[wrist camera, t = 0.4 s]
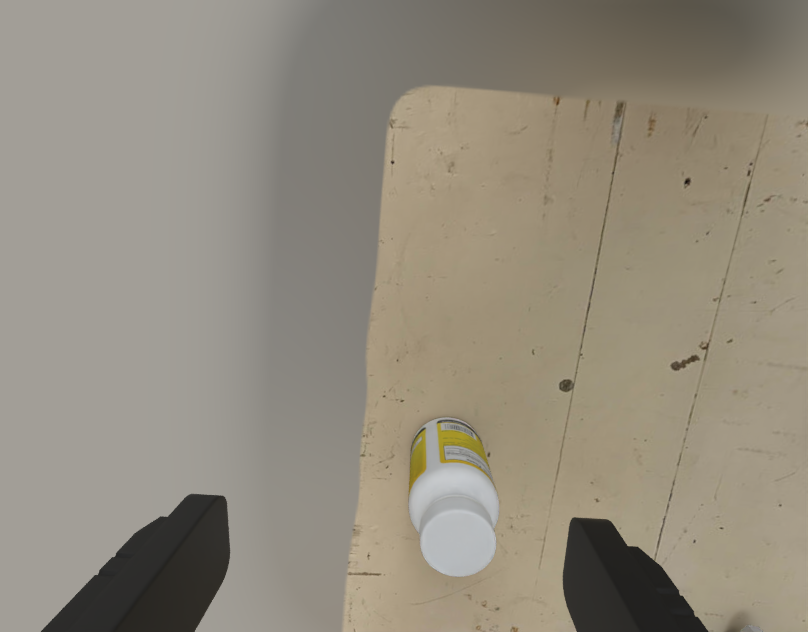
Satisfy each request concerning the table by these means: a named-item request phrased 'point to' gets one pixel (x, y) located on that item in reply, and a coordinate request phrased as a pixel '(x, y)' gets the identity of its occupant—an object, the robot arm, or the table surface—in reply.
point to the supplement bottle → (452, 497)
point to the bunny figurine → (751, 629)
